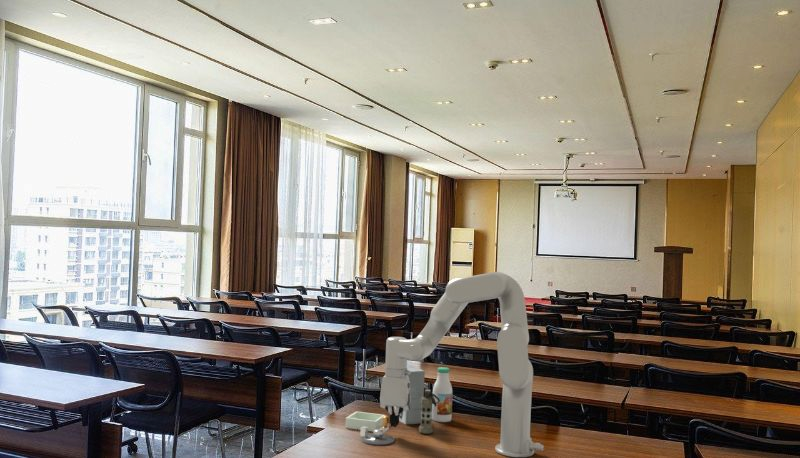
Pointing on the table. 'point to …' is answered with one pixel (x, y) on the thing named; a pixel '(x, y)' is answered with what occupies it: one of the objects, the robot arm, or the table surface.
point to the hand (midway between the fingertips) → (394, 425)
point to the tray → (364, 421)
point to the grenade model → (427, 412)
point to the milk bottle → (442, 397)
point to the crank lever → (382, 428)
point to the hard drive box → (414, 396)
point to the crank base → (373, 440)
